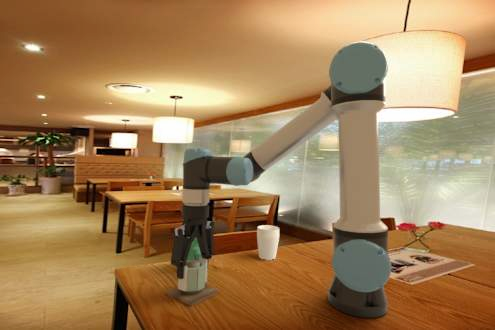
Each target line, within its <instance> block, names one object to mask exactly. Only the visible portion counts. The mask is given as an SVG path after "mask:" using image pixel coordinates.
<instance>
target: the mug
mask: <svg viewBox="0 0 495 330" xmlns="http://www.w3.org/2000/svg"><path fill="white" fill-rule="evenodd" d="M187 238H190V237H187ZM201 257H202V256H201V252H200V248H199V245H198V241H197V238H196V237H195V238H194V241H193V242H192V244H191V247H190V251H189V254H188V258H187V261H189V260H198V261H199V258H201Z"/></svg>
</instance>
